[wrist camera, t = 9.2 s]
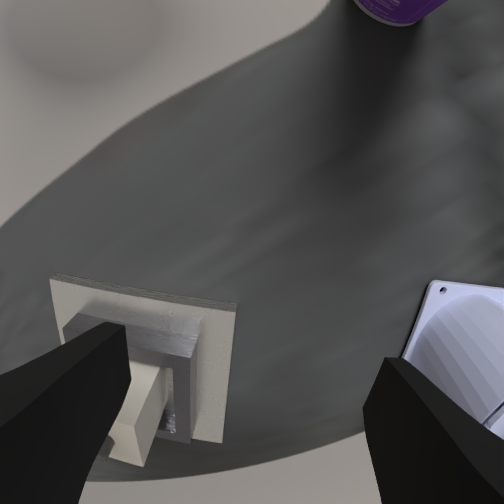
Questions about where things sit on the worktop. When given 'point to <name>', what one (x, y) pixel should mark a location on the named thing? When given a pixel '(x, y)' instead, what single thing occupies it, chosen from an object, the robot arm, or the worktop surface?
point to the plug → (137, 415)
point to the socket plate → (162, 345)
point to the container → (398, 10)
